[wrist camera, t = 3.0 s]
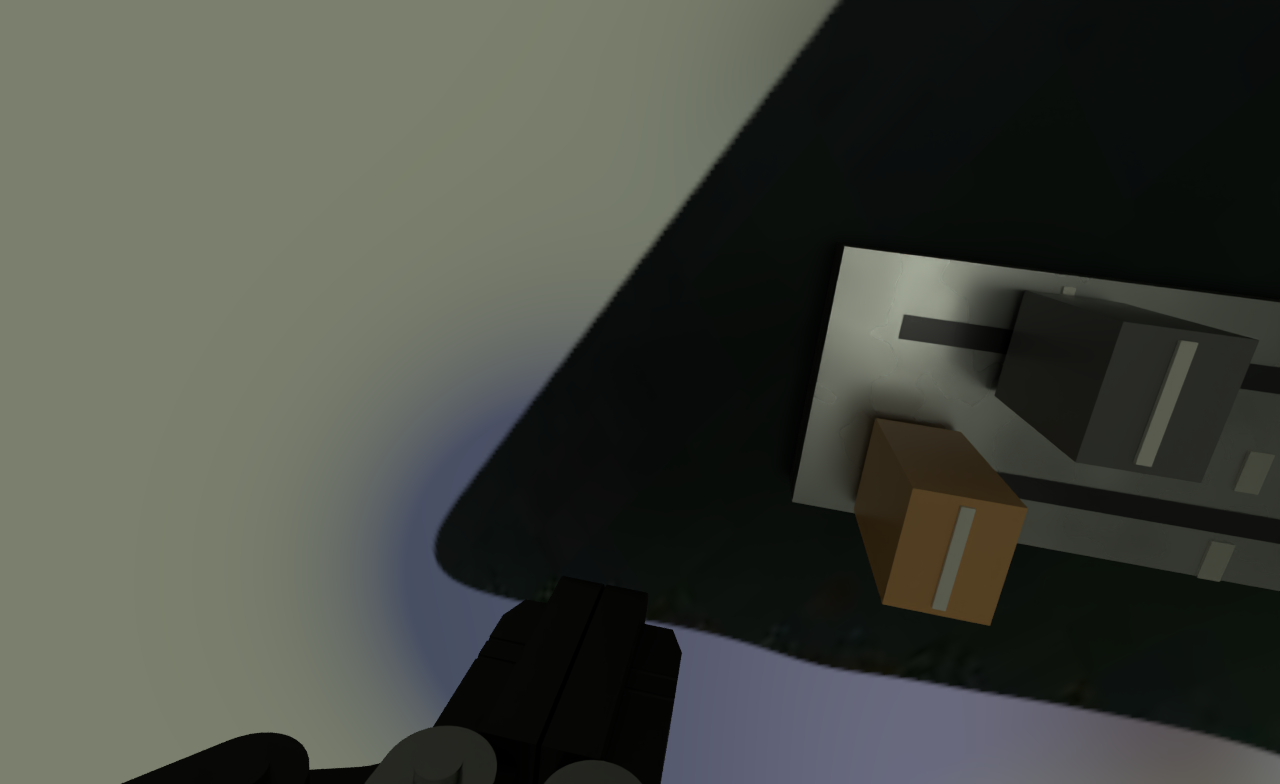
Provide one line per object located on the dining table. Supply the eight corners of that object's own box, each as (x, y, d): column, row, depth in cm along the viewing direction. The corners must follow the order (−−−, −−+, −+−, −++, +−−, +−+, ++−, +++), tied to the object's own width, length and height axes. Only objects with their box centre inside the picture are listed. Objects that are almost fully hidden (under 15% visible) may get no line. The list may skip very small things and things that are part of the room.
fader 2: (1024, 289, 17) (1126, 322, 13) (1121, 302, 17) (1263, 341, 12) (994, 395, 18) (1077, 464, 13) (1085, 410, 18) (1204, 485, 13)
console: (837, 242, 20) (845, 246, 18) (1508, 328, 18) (1603, 344, 16) (789, 476, 23) (792, 503, 21) (1376, 581, 20) (1444, 623, 18)
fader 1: (875, 417, 19) (914, 490, 14) (960, 431, 19) (1030, 510, 14) (853, 509, 20) (883, 606, 15) (935, 524, 20) (991, 628, 15)
